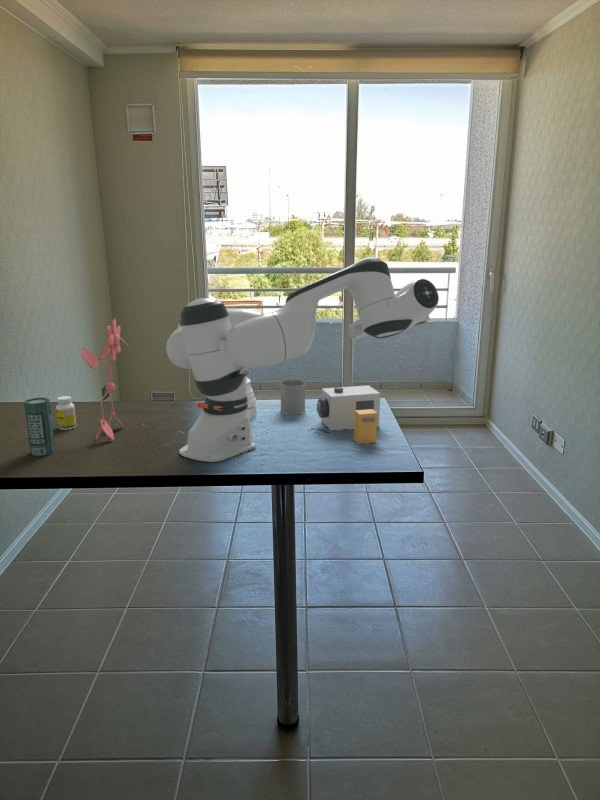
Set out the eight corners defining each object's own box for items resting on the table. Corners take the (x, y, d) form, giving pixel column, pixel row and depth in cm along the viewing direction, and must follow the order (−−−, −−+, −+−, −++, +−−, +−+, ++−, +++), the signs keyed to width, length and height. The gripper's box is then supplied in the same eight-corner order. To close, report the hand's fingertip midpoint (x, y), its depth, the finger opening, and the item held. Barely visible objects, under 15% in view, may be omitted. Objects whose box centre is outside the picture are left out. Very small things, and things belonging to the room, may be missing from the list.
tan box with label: (376, 442, 174) (378, 413, 171) (359, 444, 172) (360, 414, 170) (371, 437, 178) (372, 409, 175) (353, 439, 177) (354, 410, 174)
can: (58, 448, 169) (52, 397, 165) (49, 456, 163) (42, 403, 159) (37, 448, 169) (30, 397, 165) (27, 456, 163) (20, 403, 159)
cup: (305, 414, 200) (305, 385, 197) (280, 414, 200) (280, 386, 197) (304, 407, 208) (304, 379, 206) (281, 407, 208) (280, 379, 205)
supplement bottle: (55, 427, 187) (51, 397, 184) (72, 423, 190) (69, 394, 188) (62, 431, 183) (59, 400, 180) (79, 427, 187) (76, 397, 184)
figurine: (82, 449, 168) (72, 326, 159) (111, 421, 193) (104, 313, 183) (136, 450, 168) (129, 327, 158) (158, 422, 193) (154, 314, 183)
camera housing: (379, 426, 188) (380, 390, 184) (322, 431, 183) (323, 394, 180) (367, 417, 197) (368, 382, 194) (313, 421, 193) (313, 386, 189)
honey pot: (214, 411, 204) (212, 359, 199) (250, 407, 208) (249, 357, 203) (223, 422, 192) (221, 368, 187) (261, 418, 196) (260, 364, 192)
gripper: (363, 335, 144) (344, 350, 157) (435, 318, 151) (411, 334, 164) (356, 311, 145) (337, 328, 158) (427, 295, 151) (404, 312, 164)
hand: (375, 331), depth 161 cm, fingers open, 8 cm apart
